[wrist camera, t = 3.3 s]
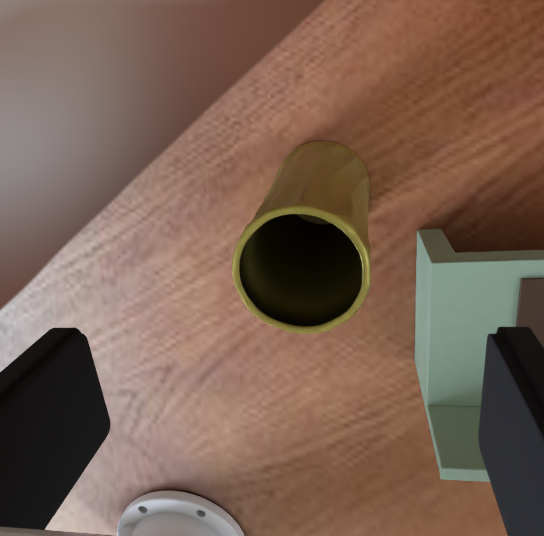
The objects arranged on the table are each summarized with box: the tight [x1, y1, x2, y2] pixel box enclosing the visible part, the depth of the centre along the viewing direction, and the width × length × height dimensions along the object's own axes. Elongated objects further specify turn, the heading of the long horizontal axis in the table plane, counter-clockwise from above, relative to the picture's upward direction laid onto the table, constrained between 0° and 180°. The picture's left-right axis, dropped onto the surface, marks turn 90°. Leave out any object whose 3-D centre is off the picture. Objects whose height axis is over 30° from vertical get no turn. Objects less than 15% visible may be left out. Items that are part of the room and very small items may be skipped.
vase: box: [232, 141, 371, 334], centre depth 24 cm, size 6×6×14 cm
